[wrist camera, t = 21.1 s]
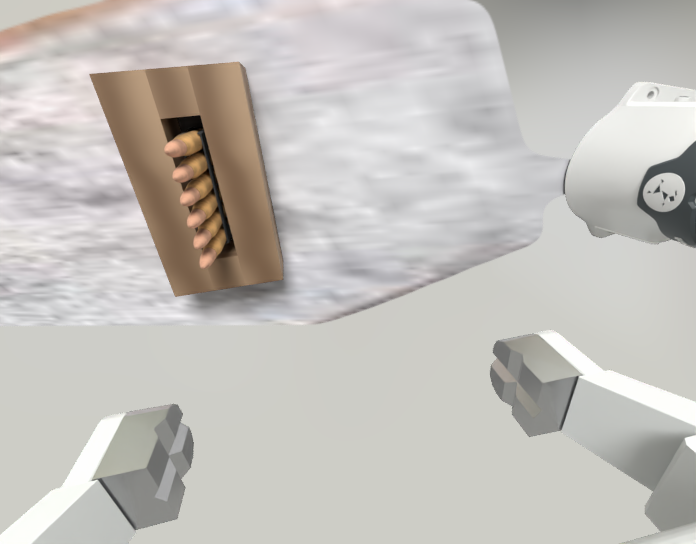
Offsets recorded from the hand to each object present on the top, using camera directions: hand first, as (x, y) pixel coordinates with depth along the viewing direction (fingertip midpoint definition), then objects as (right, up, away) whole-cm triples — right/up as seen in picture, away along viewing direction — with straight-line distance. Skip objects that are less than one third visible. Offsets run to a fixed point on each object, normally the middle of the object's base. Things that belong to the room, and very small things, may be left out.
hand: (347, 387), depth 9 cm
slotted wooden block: (-14, +12, +26) cm, 32 cm away
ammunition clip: (-14, +13, +27) cm, 33 cm away
